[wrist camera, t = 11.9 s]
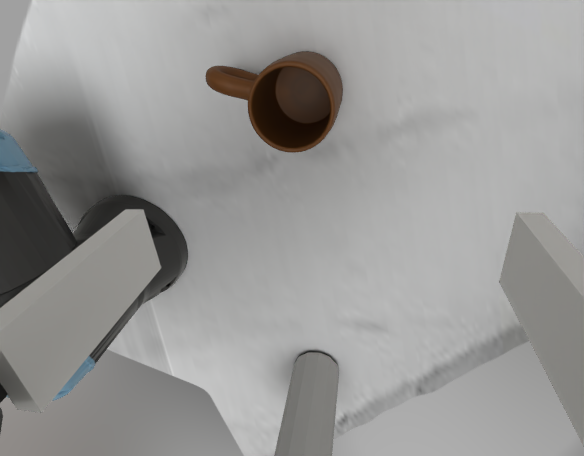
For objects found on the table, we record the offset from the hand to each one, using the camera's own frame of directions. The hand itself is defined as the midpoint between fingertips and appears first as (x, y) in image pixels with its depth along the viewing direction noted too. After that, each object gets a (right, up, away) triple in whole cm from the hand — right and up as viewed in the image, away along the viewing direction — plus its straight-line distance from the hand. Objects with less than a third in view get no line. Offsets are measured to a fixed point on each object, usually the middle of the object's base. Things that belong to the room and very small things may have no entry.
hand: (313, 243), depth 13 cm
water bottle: (+3, -22, +45) cm, 50 cm away
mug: (-1, +16, +25) cm, 29 cm away
